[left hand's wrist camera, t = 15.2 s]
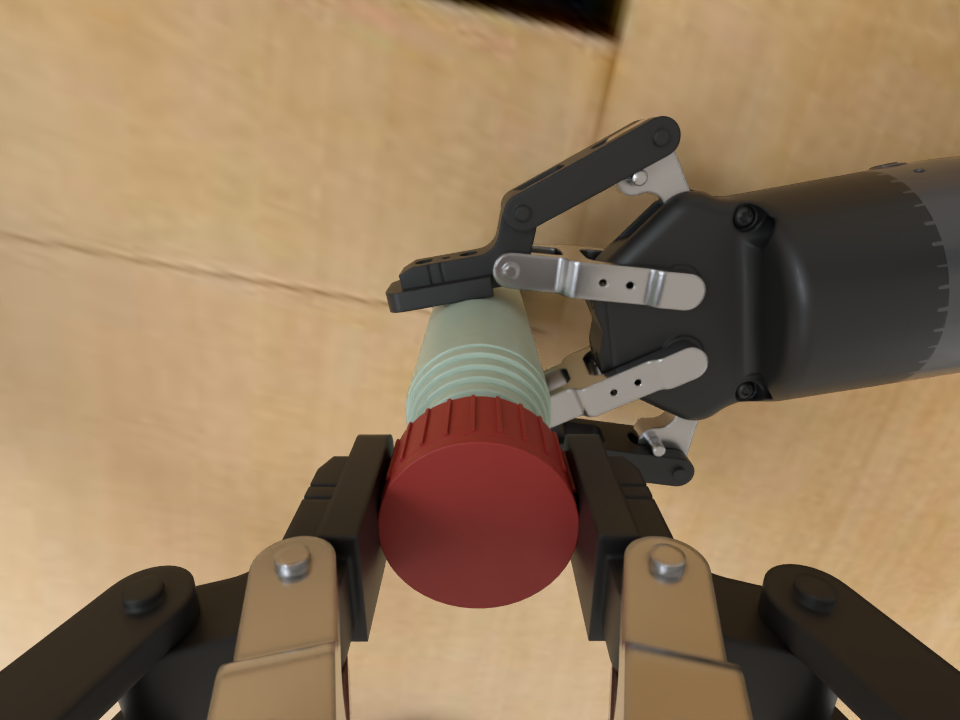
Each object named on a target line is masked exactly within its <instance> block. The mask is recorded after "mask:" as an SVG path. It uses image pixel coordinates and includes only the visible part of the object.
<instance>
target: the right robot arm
mask: <svg viewBox="0 0 960 720" xmlns="http://www.w3.org/2000/svg"><path fill="white" fill-rule="evenodd" d="M680 136H681V134H680V128H679V126H678V124H677V123H676V121H675V120H673V119H672V118H670V117H667V116H660V117H654V118H648V119H643V120H637V121H634V122H632V123H631V124H629V125H627V126H625V127H623V128H622V129H620V130H618V131H616V132H614V133H613V134H611V135H609V136H607V137H605V138H604V139H602V140H600V141H598V142H596V143H595V144H593V145H591V146H589V147H587V148H586V149H584V150H582V151H580V152H578V153H577V154H575V155H573V156H571V157H569V158H568V159H566V160H564V161H562V162H560V163H559V164H557V165H555V166H553V167H552V168H550V169H548V170H546V171H544V172H543V173H541V174H539V175H537V176H535V177H534V178H532V179H530V180H528V181H526V182H525V183H523V184H521V185H519V186H517V187H516V188H514V189H512V190H510V191H509V192H507V193H506V194H505V195H504V197H503V199H502V202H501V211H500V217H499V222H498V227H497V232H496V235H495V237H494V239H493V240H492V241H491V243H489V244H488V245H487V246H485V247H483V248H479V249H474V250H468V251H463V252H457V253H451V254H446V255H440V256H435V257H429V258H423V259H418V260H415V261H414V262H412V263H410V264H409V265H407V266H406V267H404V269H403V270H402V272H401V273H400V275H399V278H400V280H399V281H396V282H393V283H392V284H391V285H390V286H389V288H388V289H387V291H386V296H387V300H388V304H389V308H390V312H392V313H399V312H406V311H412V310H417V309H423V308H429V307H435V306H441V305H446V304H452V303H458V302H462V301H466V300H473V299H481V298H487V297H493V296H494V291H493V288H498V287H504V288H509V289H519V290H529V291H540V292H551V293H558V294H561V295H563V296H566V297H570V298H577V299H585V300H586V303H587V305H588V308H589V310H590V312H591V315H592V323H591V329H590V335H589V341H590V346H588V347H586V348H584V349H581V350H579V351H577V352H575V353H572V354H570V355H568V356H567V357H566V358H564V360H563V361H562V362H561V363H560V364H559V365H557V366H554V367H552V368H550V369H548V370H545V371H543V372H544V376H545V379H546V383H547V386H548V390H549V394H550V397H551V406H552V407H551V425H550V430H551V431H552V432H554V431H555V432H556V433H557V437H558V440H559V444H560V447H561V450H562V451H563V450H564V439H565V435H566V434H598V435H599V436H600V438H601V440H602V442H603V445H604V447H605V450H606V452H607V454H608V456H624V457H625V458H626V459H628V460H629V461H630V462H631V463H632V464H634V465H635V466H636V467H637V468H639V470H640V472H641V474H642V476H643V478H644V480H645V482H646V483H654V484H662V485H670V486H682V485H684V484H686V483H688V482H689V481H690V480H691V479H692V477H693V475H694V467H693V465H692V464H691V462H690V461H689V459H688V457H687V453H688V450H689V447H690V444H691V441H692V437H693V434H694V431H695V428H696V425H697V422H698V420H702V419H706V418H708V417H710V416H712V415H714V414H715V413H717V412H718V411H720V410H721V409H723V408H725V407H727V406H729V405H731V404H734V403H737V402H743V401H782V400H788V399H795V398H801V397H807V396H814V395H820V394H826V393H833V392H839V391H845V390H852V389H858V388H865V387H871V386H878V385H884V384H890V383H897V382H903V381H909V380H916V379H922V378H928V377H934V376H941V375H947V374H953V373H959V372H960V156H958V157H947V158H938V159H931V160H924V161H919V162H913V163H908V164H907V163H898V162H894V163H889V164H884V165H879V166H876V167H872V168H870V169H869V170H867V171H863V172H858V173H852V174H847V175H842V176H836V177H830V178H825V179H819V180H813V181H808V182H802V183H797V184H791V185H786V186H780V187H775V188H769V189H763V190H758V191H752V192H747V193H741V194H736V195H730V196H720V197H717V196H711V195H709V194H707V193H704V192H700V191H694V190H690V189H689V187H688V184H687V182H686V179H685V177H684V174H683V171H682V169H681V166H680V164H679V161H678V158H677V156H676V153H675V149H676V148H677V146H678V144H679V142H680ZM611 186H612V187H613V188H614V189H615V190H616V191H617V192H619V193H622V194H625V195H629V196H636V195H639V194H642V193H650V194H651V195H653V197H654V198H655V200H656V201H655V202H654V203H653V204H652V205H651V206H649V207H648V208H647V209H646V210H645V211H644V212H643V213H642V214H641V215H640V216H639V217H638V218H637V219H636V220H635V221H634V222H633V223H632V224H631V225H630V226H629V227H628V228H627V229H626V230H624V231H623V232H622V233H621V234H620V235H619V236H618V237H617V238H616V239H615V240H614V241H613V242H612V243H611V244H610V245H609V246H608V247H607V248H606V249H602V248H592V247H582V246H571V245H555V246H551V245H540V244H533V241H534V237H535V232H536V227H537V226H539V225H541V224H543V223H544V222H546V221H548V220H550V219H552V218H554V217H556V216H557V215H559V214H561V213H563V212H565V211H567V210H569V209H570V208H572V207H574V206H576V205H578V204H580V203H582V202H583V201H585V200H587V199H589V198H591V197H593V196H595V195H596V194H598V193H600V192H602V191H604V190H606V189H608V188H609V187H611ZM637 399H640V400H643V401H645V402H647V403H649V404H651V405H653V406H656V407H658V408H660V409H662V410H664V411H665V412H664V413H663V414H661V415H660V416H658V417H654V418H640V419H638V420H637V422H636V424H635V425H634V426H632V425H625V424H617V423H609V422H601V421H594V420H586V419H578V418H576V417H579V416H587V417H595V416H598V415H601V414H603V413H606V412H608V411H610V410H613V409H615V408H618V407H620V406H622V405H625V404H627V403H630V402H632V401H634V400H637Z"/></svg>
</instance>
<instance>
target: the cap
mask: <svg viewBox="0 0 960 720" xmlns="http://www.w3.org/2000/svg"><path fill="white" fill-rule="evenodd" d="M385 480H386V483H385V486H384V490H383V493H382V497H381V504H380V508H379V512H378V527H379V539H380V545H381V548H382V550H383V553H384V555H385V557H386V559H387V561H388V563H389V564H390V566H391V567H392V568H393V570H394V571H395V572H396V574H397V575H398V576H399V577H400V578H401V579H402V580H403V581H404V582H405V583H407V584H408V585H409V586H411V587H412V588H413V589H414V590H416V591H418V592H419V593H421V594H423V595H424V596H427V597H429V598H431V599H433V600H436V601H439V602H442V603H445V604H448V605H453V606H457V607H465V608H492V607H499V606H504V605H509V604H512V603H515V602H519V601H521V600H524V599H526V598H528V597H531V596H532V595H534V594H536V593H538V592H539V591H541V590H542V589H544V588H545V587H546V586H548V585H549V584H550V583H552V582H553V581H554V580H555V579H556V578H557V577H558V576H559V575H560V573H561V572H562V571H563V570H564V569H565V567H566V566H567V564H568V562H569V561H570V559H571V557H572V555H573V553H574V550H575V548H576V545H577V538H578V525H579V512H578V508H577V504H576V500H575V496H574V493H575V492H576V488H575V485H574V481H573V477H572V474H571V470H570V467H569V463H568V460H567V456H566V453H565V450H563V451H562V450H561V447H560V444H559V440H558V437H557V433H556V432H555V431H554V432H552V431H551V430H550V428H549V427H548V426H547V425H546V424H545V423H544V422H543V419H542V417H541V416H540V415H539V416H536V415H535V414H534V413H533V412H531V411H530V410H528V409H526V408H524V407H523V404H521V403H519V405H518V404H515V403H513V402H510V401H507V400H505V399H501V398H500V397H499V396H496V398H494V397H487V396H475V395H471V396H468V397H467V396H466V397H462V398H458V399H454V400H451V398H450V399H447V402H444V403H442V404H439V405H436V406H435V407H433V408H431V409H430V408H427V409H426V411H425V413H423V414H422V415H421V416H419V417H418V418H417V419H416V420H415V421H414V422H413V423H412V422H410V423H409V424H408V427H407V430H406V431H405V432H404V434H403V436H402V437H401V439H400V440H399V439H397V441H396V443H395V447H394V450H393V454H392V458H391V461H390V465H389V468H388V472H387V475H386V479H385Z"/></svg>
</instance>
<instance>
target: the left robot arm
mask: <svg viewBox="0 0 960 720" xmlns="http://www.w3.org/2000/svg"><path fill="white" fill-rule="evenodd" d="M393 450H394V445H393V438H392V435H358V436H357V438H356V440H355V443H354V445H353V448H352V450H351V452H350V455H349V456H334V457H332V458H331V459H330V460H329V461H328V462H326V463H325V464H324V465H323V466H321V467H320V468H319V469H318V470H317V472H316V474H315V476H314V478H313V480H312V482H311V486H310V487H309V488H308V490H307V492H306V494H305V496H304V499H303V500H302V502H301V504H300V506H299V508H298V510H297V512H296V514H295V516H294V518H293V520H292V522H291V524H290V526H289V528H288V530H287V532H286V534H285V536H284V538H283V540H281V541H279V542H277V543H274V544H273V545H271V546H269V547H267V548H266V549H265V550H263V551H262V552H261V553H260V554H259V555H258V556H257V557H256V558H255V559H254V561H253V563H252V564H251V567H250V570H249V572H247V573H245V574H242V575H239V576H237V577H233V578H229V579H225V580H221V581H217V582H212V583H208V584H204V585H199V586H195V582H194V578H193V576H192V574H191V573H190V572H189V571H187V570H186V569H184V568H181V567H177V566H158V567H152V568H149V569H145V570H142V571H139V572H136V573H134V574H132V575H130V576H127V577H126V578H124V579H122V580H120V581H119V582H117V583H116V584H114V585H113V586H111V587H110V588H109V589H108V590H106V591H105V592H104V593H102V594H101V595H100V596H98V597H97V598H96V599H94V600H93V601H92V602H91V603H89V604H88V605H87V606H85V607H84V608H83V609H81V610H80V611H79V612H77V613H76V614H75V615H74V616H72V617H71V618H70V619H68V620H67V621H66V622H64V623H63V624H62V625H60V626H59V627H58V628H57V629H55V630H54V631H53V632H51V633H50V634H49V635H47V636H46V637H45V638H43V639H42V640H41V641H40V642H38V643H37V644H36V645H34V646H33V647H32V648H30V649H29V650H28V651H26V652H25V653H24V654H23V655H21V656H20V657H19V658H17V659H16V660H15V661H13V662H12V663H11V664H9V665H8V666H7V667H6V668H4V669H3V670H2V671H0V720H99V719H100V718H101V717H102V716H103V715H104V714H105V713H106V712H107V711H108V710H109V709H110V708H111V707H112V706H113V705H114V704H115V703H116V702H117V701H118V702H119V705H120V708H121V710H120V711H119V712H118V713H117V714H116V715H115V716H114V717H113V718H112V719H111V720H352V717H351V694H350V673H349V665H348V656H347V654H348V650H349V646H350V642H351V641H368V638H369V634H370V629H371V625H372V620H373V616H374V612H375V607H376V603H377V598H378V594H379V590H380V585H381V581H382V576H383V572H384V568H385V563H386V557H385V555H384V553H383V550H382V548H381V545H380V539H379V527H378V512H379V508H380V504H381V497H382V493H383V490H384V486H385V483H386V480H385V479H386V475H387V472H388V468H389V465H390V461H391V458H392V454H393ZM564 450H565V453H566V456H567V460H568V463H569V467H570V470H571V474H572V477H573V481H574V485H575V488H576V492H575V493H574V496H575V500H576V504H577V508H578V512H579V525H578V538H577V545H576V548H575V550H574V553H573V555H572V557H571V563H572V567H573V572H574V576H575V581H576V585H577V590H578V594H579V599H580V603H581V608H582V612H583V617H584V621H585V626H586V631H587V635H588V640H589V641H606V645H607V649H608V652H609V656H610V660H611V663H612V665H611V673H610V694H609V717H608V720H849V719H848V718H847V717H846V716H845V715H844V714H843V713H842V712H840V711H839V710H838V709H837V708H836V707H835V704H836V701H837V698H839V699H840V700H841V701H843V702H844V703H845V704H846V705H847V706H848V707H849V708H850V709H851V710H852V711H853V712H854V713H855V714H856V715H857V716H858V717H859V718H860V719H861V720H960V671H958V670H957V669H956V668H954V667H953V666H952V665H950V664H949V663H948V662H947V661H945V660H944V659H943V658H941V657H940V656H939V655H937V654H936V653H935V652H933V651H932V650H931V649H930V648H928V647H927V646H926V645H924V644H923V643H922V642H920V641H919V640H918V639H916V638H915V637H914V636H913V635H911V634H910V633H909V632H907V631H906V630H905V629H903V628H902V627H901V626H900V625H898V624H897V623H896V622H894V621H893V620H892V619H890V618H889V617H888V616H886V615H885V614H884V613H883V612H881V611H880V610H879V609H877V608H876V607H875V606H873V605H872V604H871V603H869V602H868V601H867V600H866V599H864V598H863V597H862V596H860V595H859V594H858V593H856V592H855V591H854V590H852V589H851V588H850V587H849V586H847V585H846V584H844V583H843V582H842V581H840V580H839V579H837V578H835V577H833V576H832V575H830V574H827V573H825V572H823V571H820V570H818V569H815V568H812V567H808V566H803V565H796V564H783V565H778V566H775V567H773V568H771V569H770V570H769V571H768V572H767V573H766V574H765V577H764V581H763V585H762V586H760V585H755V584H751V583H747V582H742V581H738V580H734V579H729V578H725V577H722V576H718V575H716V574H713V573H711V570H710V567H709V564H708V563H707V561H706V559H705V558H704V557H703V556H702V555H701V554H700V553H699V552H698V551H697V550H695V549H694V548H693V547H691V546H689V545H687V544H686V543H683V542H681V541H679V540H675V539H674V538H673V536H672V534H671V532H670V530H669V528H668V526H667V524H666V522H665V520H664V518H663V516H662V514H661V512H660V510H659V508H658V506H657V504H656V502H655V500H654V499H652V494H651V492H650V490H649V488H648V487H646V482H645V480H644V478H643V476H642V474H641V472H640V470H639V468H637V467H636V466H635V465H634V464H632V463H631V462H630V461H629V460H628V459H626V458H625V457H624V456H608V454H607V452H606V450H605V447H604V445H603V442H602V440H601V438H600V436H599V435H598V434H566V435H565V439H564Z"/></svg>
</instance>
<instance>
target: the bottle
mask: <svg viewBox="0 0 960 720" xmlns="http://www.w3.org/2000/svg"><path fill="white" fill-rule="evenodd" d="M493 291H494V296H493V297H487V298H481V299H473V300H466V301H462V302H458V303H452V304H446V305H441V306H435V307H433V309H432V312H431V316H430V319H429V323H428V326H427V330H426V333H425V336H424V340H423V343H422V347H421V350H420V354H419V357H418V360H417V364H416V367H415V371H414V374H413V378H412V381H411V384H410V388H409V391H408V396H407V400H406V421H407V427H408V424H409V423H410V422H412V423H413V422H414V421H415V420H416V419H417V418H418V417H419V416H421V415H422V414H423V413H425V411H426V409H427V408H430V409H431V408H433V407H435V406H436V405H439V404H442V403H444V402H447V399H450V398H451V400H454V399H458V398H462V397H466V396H467V397H468V396H471V395H475V396H487V397H494V398H496V396H499V397H500V398H501V399H505V400H507V401H510V402H513V403H515V404H518V405H519V403H521V404H523V407H524V408H526V409H528V410H530V411H531V412H533V413H534V414H535V415H536V416H539V415H540V416H541V417H542V419H543V422H544V423H545V424H546V425H547V426H548V427H549V428H550V425H551V407H552V406H551V397H550V394H549V390H548V386H547V383H546V379H545V376H544V372H543V369H542V365H541V362H540V358H539V355H538V351H537V348H536V344H535V341H534V337H533V334H532V330H531V327H530V323H529V320H528V316H527V313H526V310H525V306H524V303H523V299H522V296H521V292H520V290H519V289H509V288H504V287H498V288H493Z"/></svg>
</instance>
